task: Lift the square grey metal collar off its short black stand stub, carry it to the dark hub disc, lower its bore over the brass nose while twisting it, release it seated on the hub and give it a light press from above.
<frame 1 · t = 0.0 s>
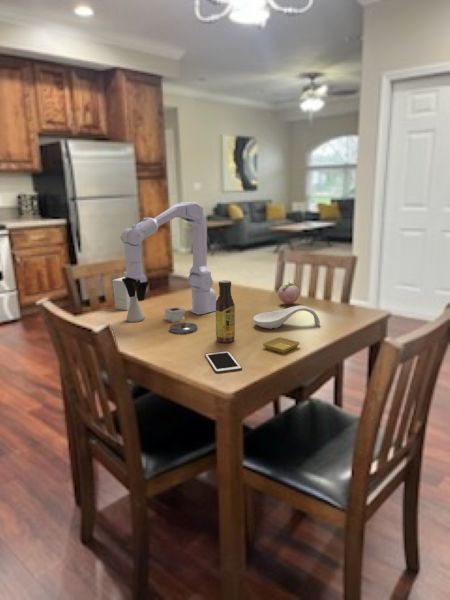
hand: (136, 298, 167), 10 cm above the table, tool pointing down, fingers open, 7 cm apart
sauce bottle: (225, 340, 151), on the table
saucer: (281, 349, 142), on the table
cell phone: (222, 364, 132), on the table
decorative fruit: (288, 305, 191), on the table
flask: (135, 320, 177), on the table
spoon rest: (286, 326, 164), on the table
stand stub: (175, 319, 175), on the table
supplement box: (127, 308, 194), on the table
hub: (183, 329, 163), on the table
collar: (175, 319, 175), on the table
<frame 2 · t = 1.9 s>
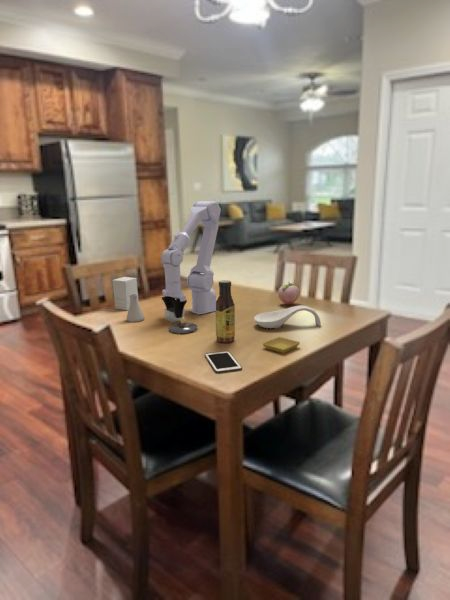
hand: (174, 315, 175), 1 cm above the table, tool pointing down, fingers closed on collar, 6 cm apart
collar: (175, 319, 175), on the table, touching gripper
everything else where it was.
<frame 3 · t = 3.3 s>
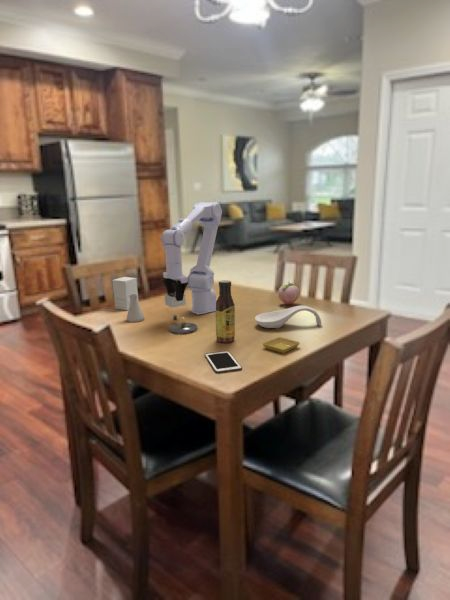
hand: (175, 299, 170), 9 cm above the table, tool pointing down, fingers closed on collar, 6 cm apart
collar: (175, 304, 170), point 7 cm above the table, touching gripper
everything else where it was.
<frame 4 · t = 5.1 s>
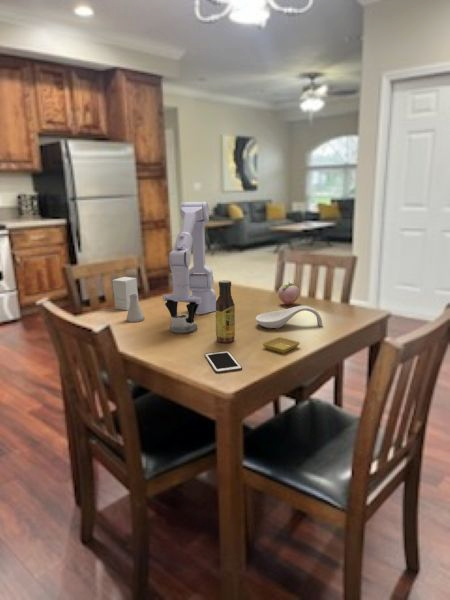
hand: (183, 321, 162), 3 cm above the table, tool pointing down, fingers closed on collar, 6 cm apart
collar: (182, 327, 162), point 1 cm above the table, touching gripper, hub
everything else where it was.
when the fingers open (3 cm above the table, at t = 5.4 s): collar stays where it is, resting on hub.
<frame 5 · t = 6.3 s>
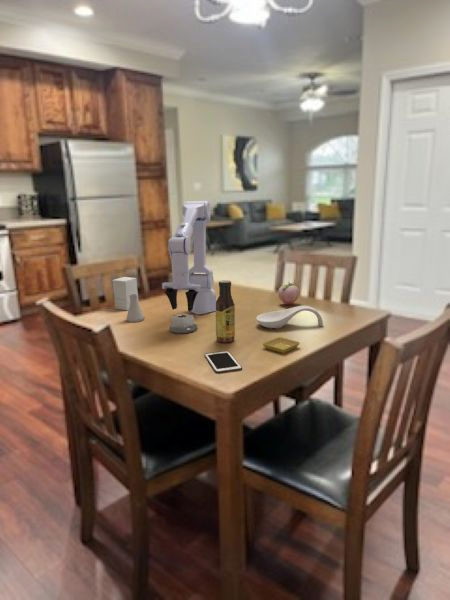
hand: (182, 309, 161), 7 cm above the table, tool pointing down, fingers open, 6 cm apart
collar: (182, 327, 162), point 1 cm above the table, touching hub
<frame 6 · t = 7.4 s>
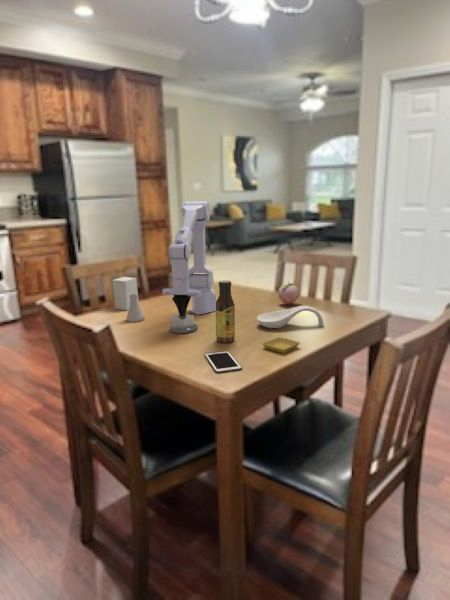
hand: (182, 315, 161), 5 cm above the table, tool pointing down, fingers closed
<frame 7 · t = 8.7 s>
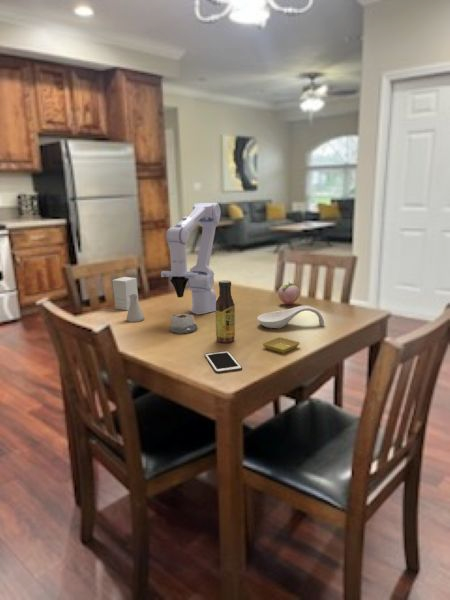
hand: (180, 296, 169), 10 cm above the table, tool pointing down, fingers closed
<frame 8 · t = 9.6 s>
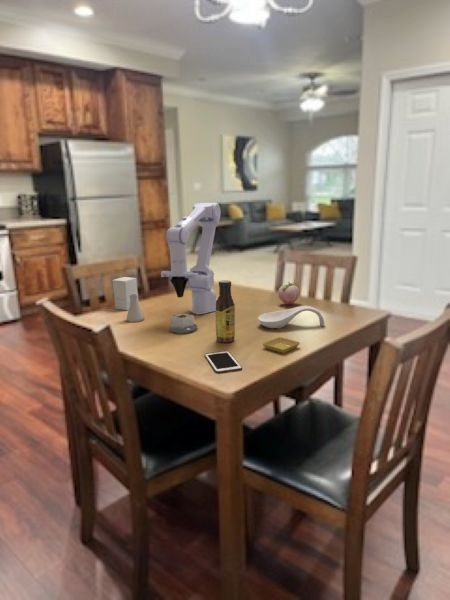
hand: (180, 296, 169), 10 cm above the table, tool pointing down, fingers closed
at the end: collar 0.3 cm off-centre on the hub, point 1.0 cm above the hub's base; the gripper is holding nothing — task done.
